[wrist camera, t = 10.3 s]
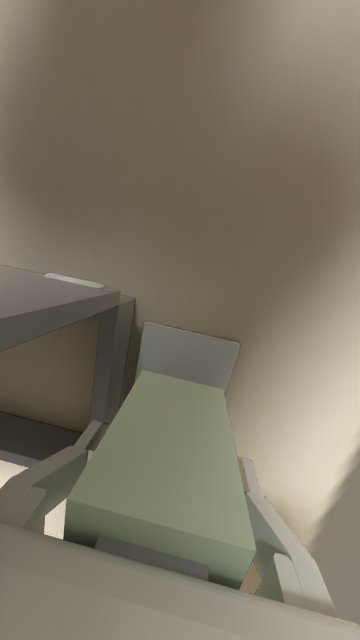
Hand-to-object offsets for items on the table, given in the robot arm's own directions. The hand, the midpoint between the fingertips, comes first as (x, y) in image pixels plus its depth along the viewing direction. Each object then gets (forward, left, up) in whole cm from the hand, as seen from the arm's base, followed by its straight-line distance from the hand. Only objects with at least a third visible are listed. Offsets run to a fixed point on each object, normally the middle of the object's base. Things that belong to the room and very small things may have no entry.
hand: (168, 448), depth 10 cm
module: (0, 0, -3) cm, 3 cm away
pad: (0, 0, -6) cm, 6 cm away
